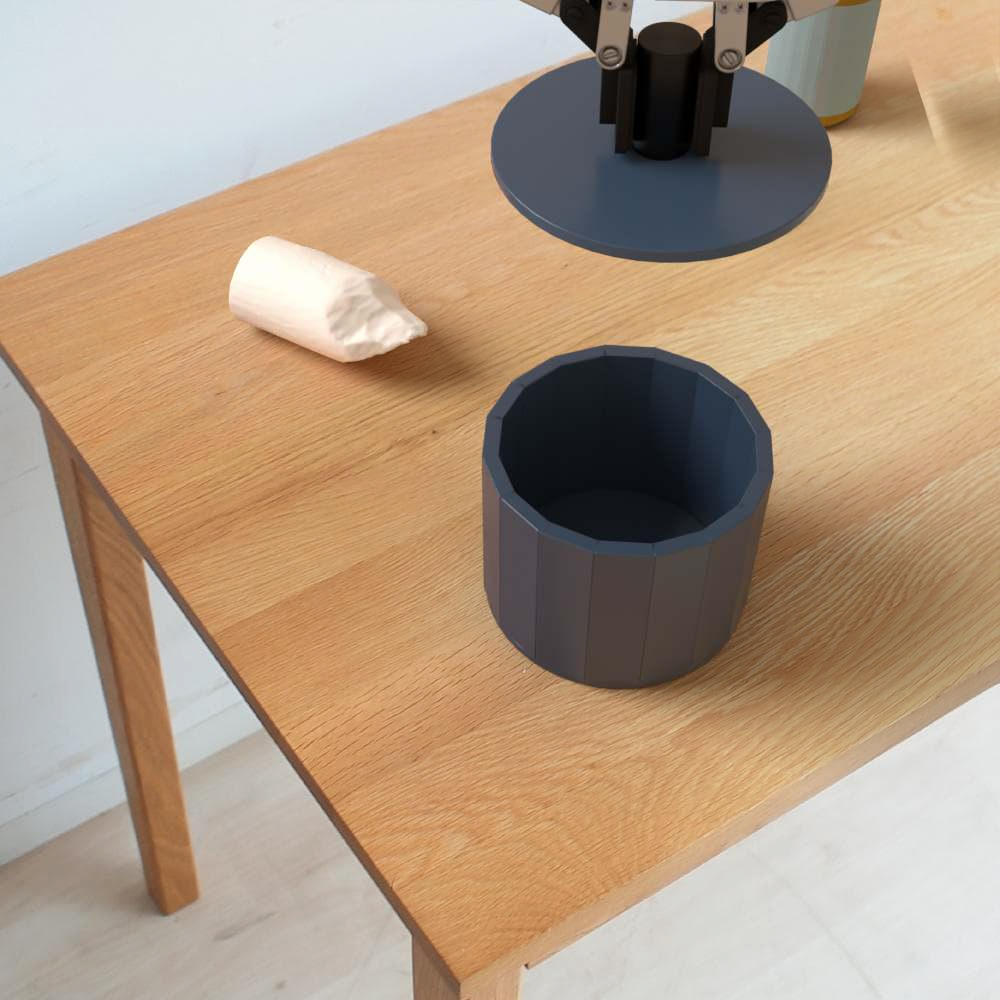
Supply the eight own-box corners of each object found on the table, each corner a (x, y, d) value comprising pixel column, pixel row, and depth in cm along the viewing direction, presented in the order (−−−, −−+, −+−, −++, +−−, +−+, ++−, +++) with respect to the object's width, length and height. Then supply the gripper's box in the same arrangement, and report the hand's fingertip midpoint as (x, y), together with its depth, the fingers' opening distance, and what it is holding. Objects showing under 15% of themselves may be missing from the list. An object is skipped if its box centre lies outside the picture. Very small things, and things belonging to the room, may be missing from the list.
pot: (740, 491, 80) (766, 352, 72) (749, 697, 71) (780, 564, 63) (496, 478, 81) (495, 338, 73) (474, 680, 72) (471, 546, 64)
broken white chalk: (397, 410, 84) (391, 339, 80) (233, 338, 88) (220, 267, 84) (451, 350, 88) (449, 278, 83) (292, 283, 92) (282, 212, 88)
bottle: (865, 132, 103) (909, -70, 91) (766, 131, 103) (798, -70, 91) (850, 77, 107) (891, -122, 96) (755, 77, 107) (785, -122, 96)
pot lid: (813, 77, 67) (836, -49, 63) (843, 281, 58) (872, 151, 53) (501, 68, 68) (500, -57, 63) (479, 269, 58) (476, 139, 54)
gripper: (934, -371, 50) (843, 92, 64) (468, -377, 51) (478, 82, 65) (967, -286, 45) (861, 196, 59) (450, -294, 46) (465, 184, 60)
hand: (661, 133), depth 62 cm, fingers closed on pot lid, 2 cm apart
